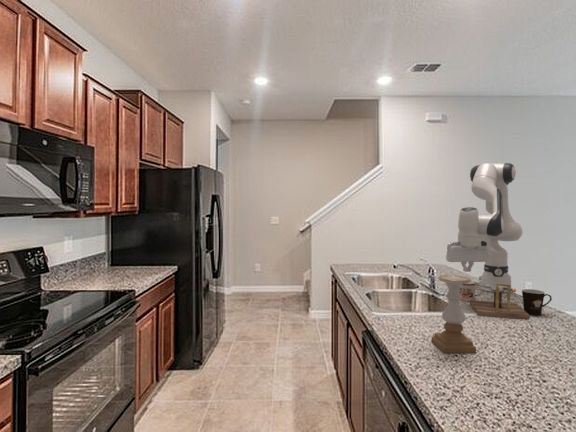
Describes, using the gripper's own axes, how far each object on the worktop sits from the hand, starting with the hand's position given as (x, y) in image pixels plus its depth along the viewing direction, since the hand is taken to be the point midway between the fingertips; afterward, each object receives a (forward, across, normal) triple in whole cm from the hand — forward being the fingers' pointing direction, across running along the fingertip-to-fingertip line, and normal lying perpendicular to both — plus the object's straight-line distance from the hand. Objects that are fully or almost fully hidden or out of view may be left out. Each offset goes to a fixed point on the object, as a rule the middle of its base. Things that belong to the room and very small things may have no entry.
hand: (467, 271), depth 184 cm
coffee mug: (+17, +24, -15) cm, 33 cm away
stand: (+17, +10, -8) cm, 21 cm away
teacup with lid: (+17, +10, +13) cm, 24 cm away
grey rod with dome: (+8, +9, -7) cm, 14 cm away
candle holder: (+18, -35, -46) cm, 60 cm away
